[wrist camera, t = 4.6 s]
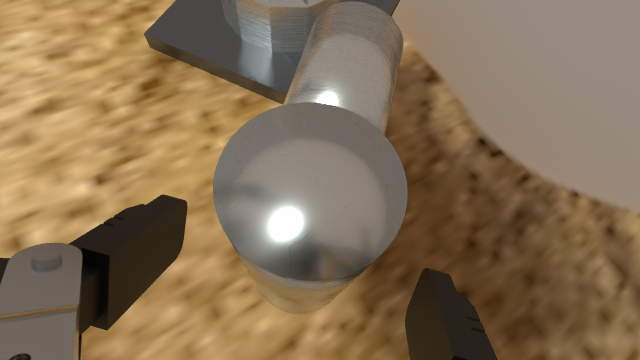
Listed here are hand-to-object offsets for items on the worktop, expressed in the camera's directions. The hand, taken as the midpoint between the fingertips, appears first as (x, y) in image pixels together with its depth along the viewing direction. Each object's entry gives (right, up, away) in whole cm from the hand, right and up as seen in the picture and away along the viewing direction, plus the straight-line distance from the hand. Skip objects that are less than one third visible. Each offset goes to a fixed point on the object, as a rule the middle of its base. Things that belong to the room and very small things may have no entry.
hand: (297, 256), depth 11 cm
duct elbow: (0, 0, +8) cm, 8 cm away
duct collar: (-2, +15, +15) cm, 21 cm away
